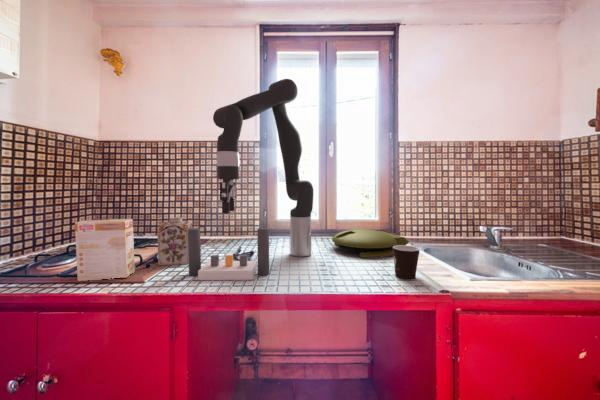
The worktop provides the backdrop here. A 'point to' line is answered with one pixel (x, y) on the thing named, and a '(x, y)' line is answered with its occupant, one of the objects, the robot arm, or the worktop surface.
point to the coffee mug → (405, 261)
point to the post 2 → (263, 251)
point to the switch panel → (228, 269)
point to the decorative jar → (173, 242)
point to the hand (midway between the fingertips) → (228, 212)
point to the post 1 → (194, 251)
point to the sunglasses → (249, 254)
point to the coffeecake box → (104, 249)
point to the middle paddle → (229, 260)
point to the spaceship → (369, 241)
